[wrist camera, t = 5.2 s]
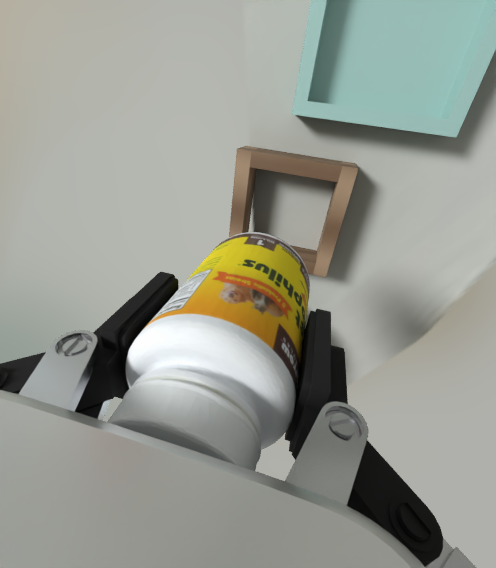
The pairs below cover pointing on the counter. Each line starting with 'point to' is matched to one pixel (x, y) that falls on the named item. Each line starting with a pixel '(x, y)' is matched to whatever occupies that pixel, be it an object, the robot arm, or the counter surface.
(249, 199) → the socket block
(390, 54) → the tray
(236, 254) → the supplement bottle
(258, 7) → the counter surface
